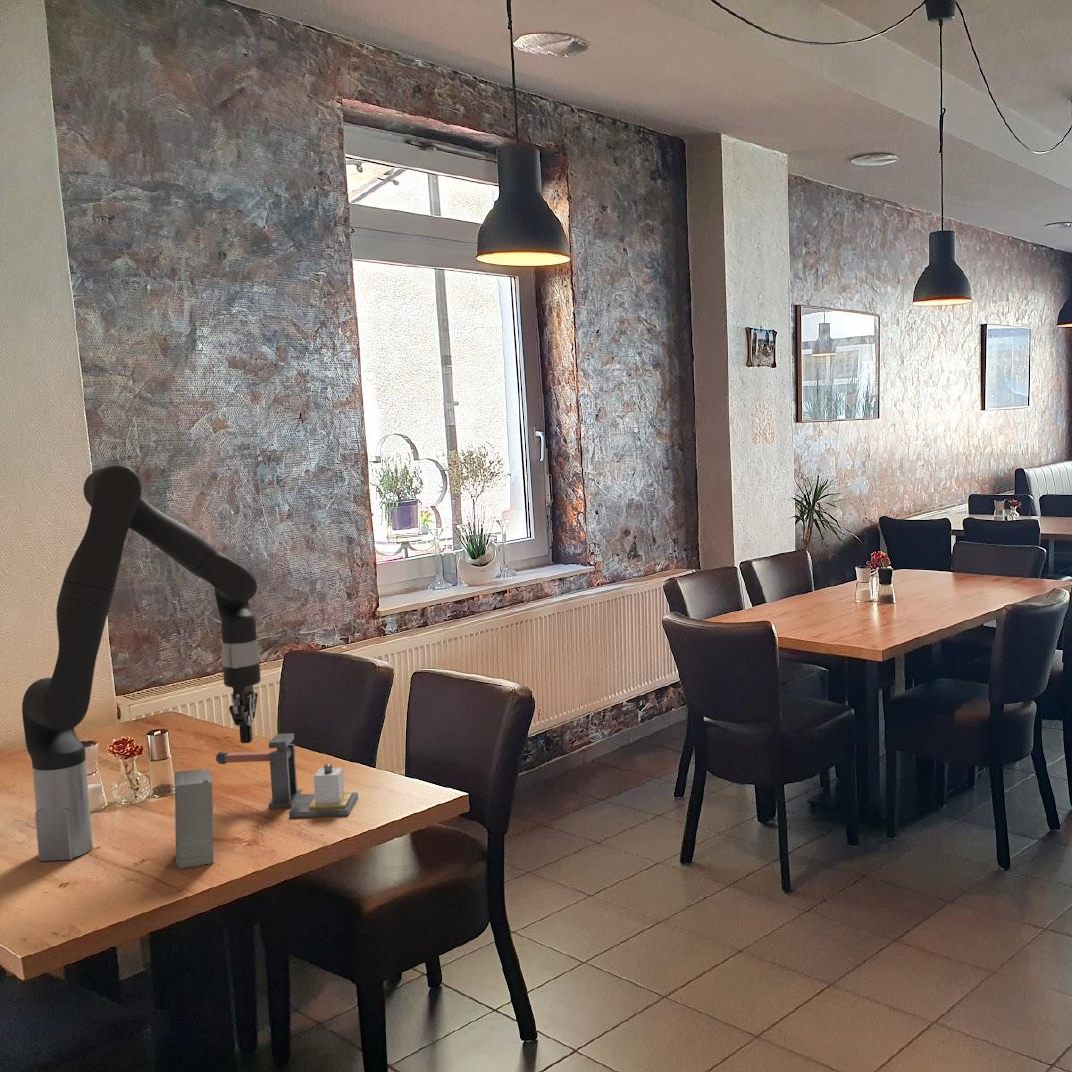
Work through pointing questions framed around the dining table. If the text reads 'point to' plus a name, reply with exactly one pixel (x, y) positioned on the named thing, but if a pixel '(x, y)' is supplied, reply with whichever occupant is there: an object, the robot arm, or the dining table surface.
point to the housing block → (329, 785)
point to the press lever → (247, 756)
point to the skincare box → (193, 818)
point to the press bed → (287, 786)
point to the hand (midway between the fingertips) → (246, 742)
